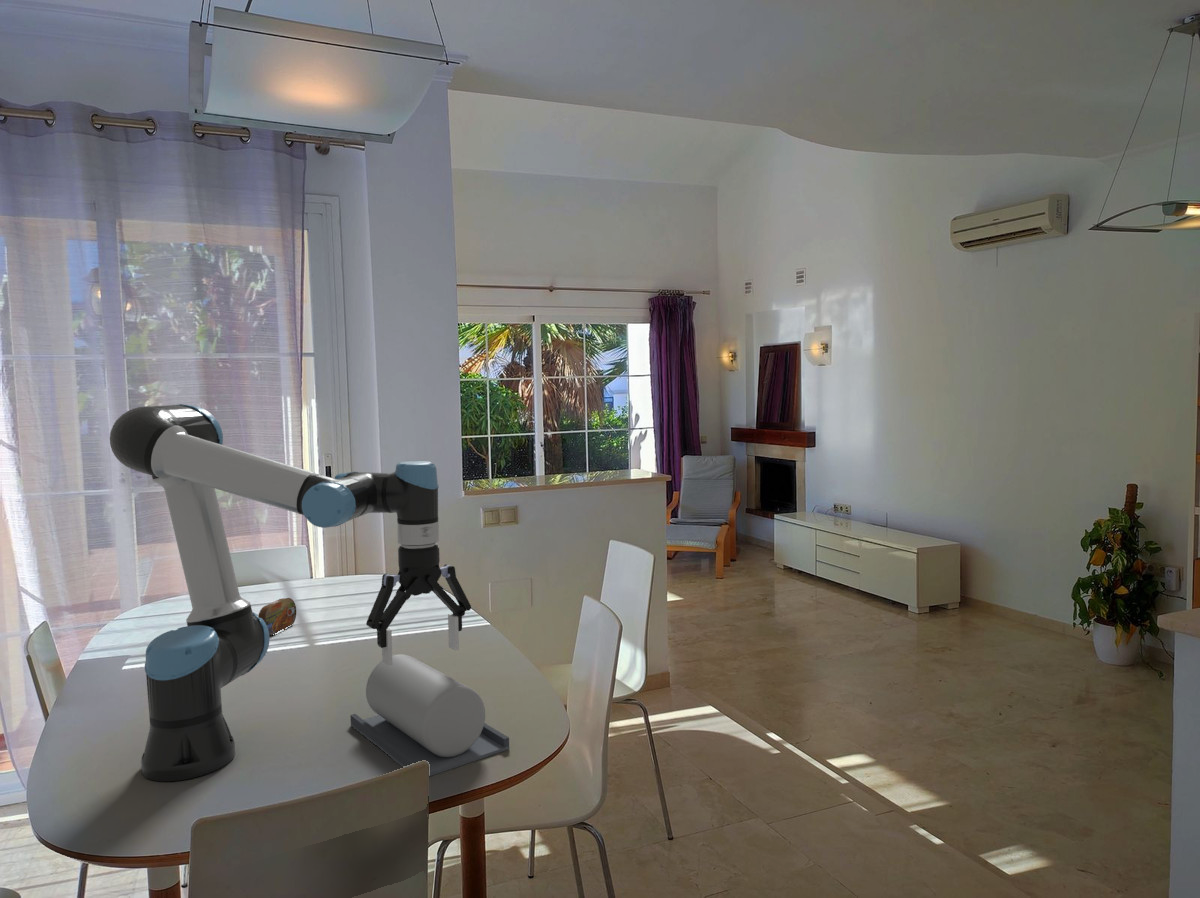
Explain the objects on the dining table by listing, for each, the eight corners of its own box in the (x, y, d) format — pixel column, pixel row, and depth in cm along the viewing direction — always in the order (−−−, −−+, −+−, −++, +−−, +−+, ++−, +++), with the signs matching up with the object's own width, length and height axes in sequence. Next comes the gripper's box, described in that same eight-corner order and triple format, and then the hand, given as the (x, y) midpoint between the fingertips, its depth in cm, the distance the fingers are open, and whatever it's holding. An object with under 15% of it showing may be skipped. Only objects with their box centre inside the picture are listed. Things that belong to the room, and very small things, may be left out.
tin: (267, 639, 224) (265, 608, 223) (256, 639, 224) (254, 608, 224) (298, 623, 238) (296, 594, 238) (288, 623, 239) (286, 594, 238)
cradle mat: (509, 749, 152) (508, 737, 152) (418, 780, 141) (417, 767, 141) (433, 702, 175) (433, 692, 175) (350, 725, 164) (350, 714, 164)
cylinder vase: (444, 678, 145) (384, 645, 165) (412, 748, 142) (354, 706, 162) (498, 699, 152) (434, 665, 172) (468, 766, 149) (407, 724, 169)
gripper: (362, 556, 145) (365, 675, 146) (487, 539, 160) (489, 647, 162) (345, 550, 150) (349, 664, 152) (467, 533, 166) (470, 638, 167)
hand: (421, 656), depth 157 cm, fingers open, 13 cm apart
